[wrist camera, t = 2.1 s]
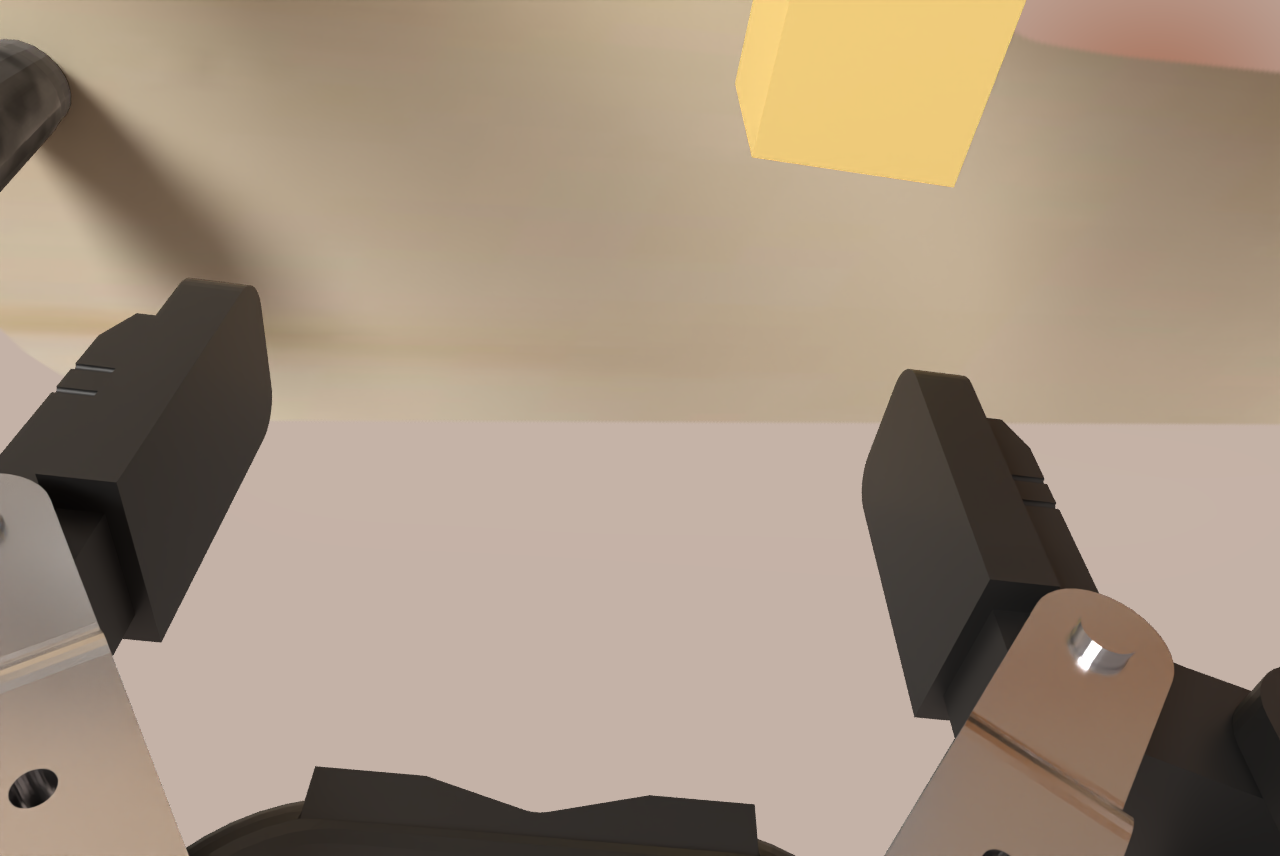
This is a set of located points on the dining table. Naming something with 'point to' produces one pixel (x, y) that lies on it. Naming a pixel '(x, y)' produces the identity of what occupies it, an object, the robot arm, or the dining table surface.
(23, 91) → the beverage cup
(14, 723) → the robot arm
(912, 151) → the bar
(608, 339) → the dining table surface
